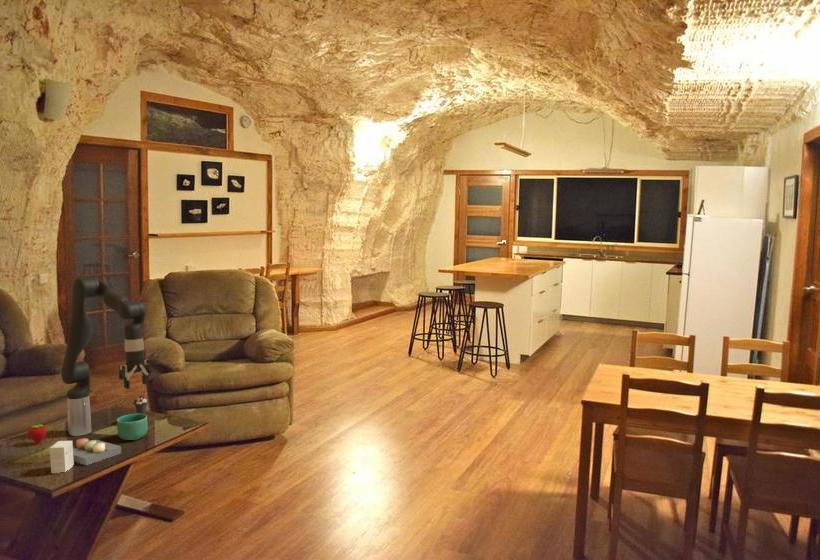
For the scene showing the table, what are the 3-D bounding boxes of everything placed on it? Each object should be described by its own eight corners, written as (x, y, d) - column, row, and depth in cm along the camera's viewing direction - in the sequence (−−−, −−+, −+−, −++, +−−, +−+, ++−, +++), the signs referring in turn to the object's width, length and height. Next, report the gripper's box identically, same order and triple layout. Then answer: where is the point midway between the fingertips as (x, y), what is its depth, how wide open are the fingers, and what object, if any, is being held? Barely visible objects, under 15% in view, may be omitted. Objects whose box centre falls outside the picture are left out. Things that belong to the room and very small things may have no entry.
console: (60, 458, 272) (60, 451, 272) (95, 446, 286) (95, 439, 286) (86, 465, 263) (85, 458, 263) (121, 453, 277) (121, 446, 277)
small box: (59, 466, 263) (58, 440, 262) (74, 465, 264) (72, 440, 263) (50, 473, 256) (48, 447, 254) (65, 473, 256) (63, 447, 255)
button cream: (90, 453, 271) (90, 445, 270) (100, 449, 275) (100, 441, 274) (97, 455, 268) (97, 447, 268) (107, 451, 272) (107, 443, 272)
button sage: (82, 451, 274) (81, 442, 273) (92, 447, 278) (92, 439, 277) (89, 453, 271) (88, 444, 271) (99, 449, 275) (98, 441, 275)
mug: (141, 442, 290) (140, 422, 289) (113, 443, 290) (111, 422, 289) (155, 430, 306) (154, 410, 305) (128, 430, 306) (127, 411, 305)
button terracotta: (74, 448, 276) (73, 440, 276) (84, 445, 280) (84, 437, 280) (81, 450, 274) (80, 442, 274) (91, 447, 278) (90, 439, 278)
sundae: (152, 421, 320) (150, 391, 318) (141, 425, 314) (139, 394, 312) (142, 419, 323) (140, 389, 321) (131, 423, 317) (129, 393, 315)
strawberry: (32, 441, 293) (31, 419, 292) (50, 441, 293) (48, 419, 292) (25, 446, 287) (24, 424, 286) (43, 445, 287) (42, 423, 286)
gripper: (142, 345, 285) (144, 381, 286) (113, 351, 272) (115, 389, 274) (154, 346, 281) (156, 383, 283) (125, 353, 269) (127, 391, 270)
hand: (136, 386), depth 278 cm, fingers open, 8 cm apart
